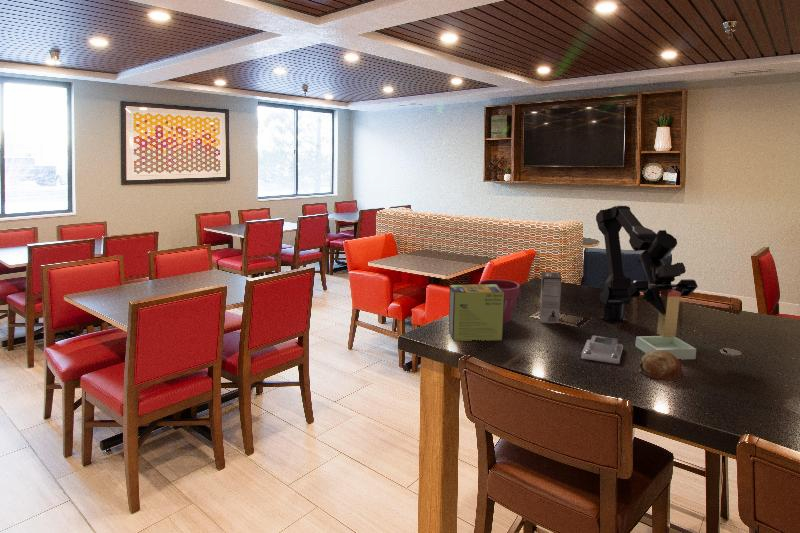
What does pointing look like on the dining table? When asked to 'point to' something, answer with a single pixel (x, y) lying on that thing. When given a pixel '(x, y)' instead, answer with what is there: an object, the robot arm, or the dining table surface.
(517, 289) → the plant pot
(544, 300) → the coffee box
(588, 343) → the bracket
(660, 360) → the bread roll
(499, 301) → the protein box
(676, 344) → the tray
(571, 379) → the dining table surface
